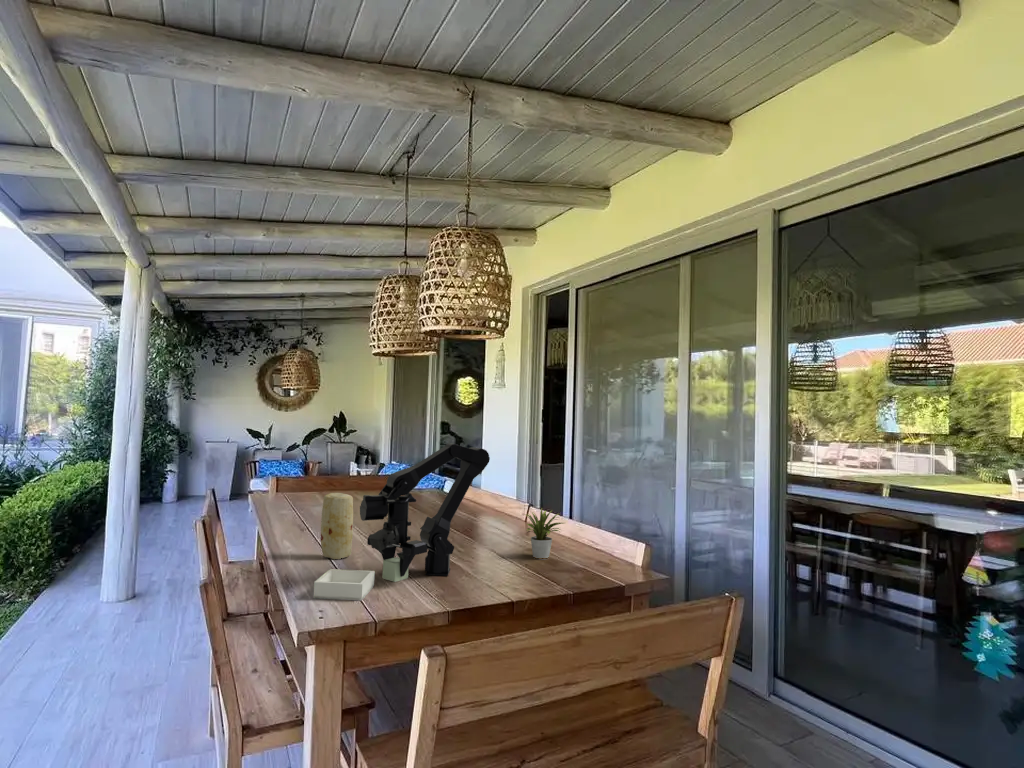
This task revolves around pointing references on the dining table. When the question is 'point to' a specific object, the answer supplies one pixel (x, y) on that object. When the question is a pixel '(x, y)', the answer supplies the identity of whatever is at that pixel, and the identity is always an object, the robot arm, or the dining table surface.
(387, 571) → the green block
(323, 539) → the food model
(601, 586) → the dining table surface
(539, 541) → the house plant
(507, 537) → the dining table surface
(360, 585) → the bin
